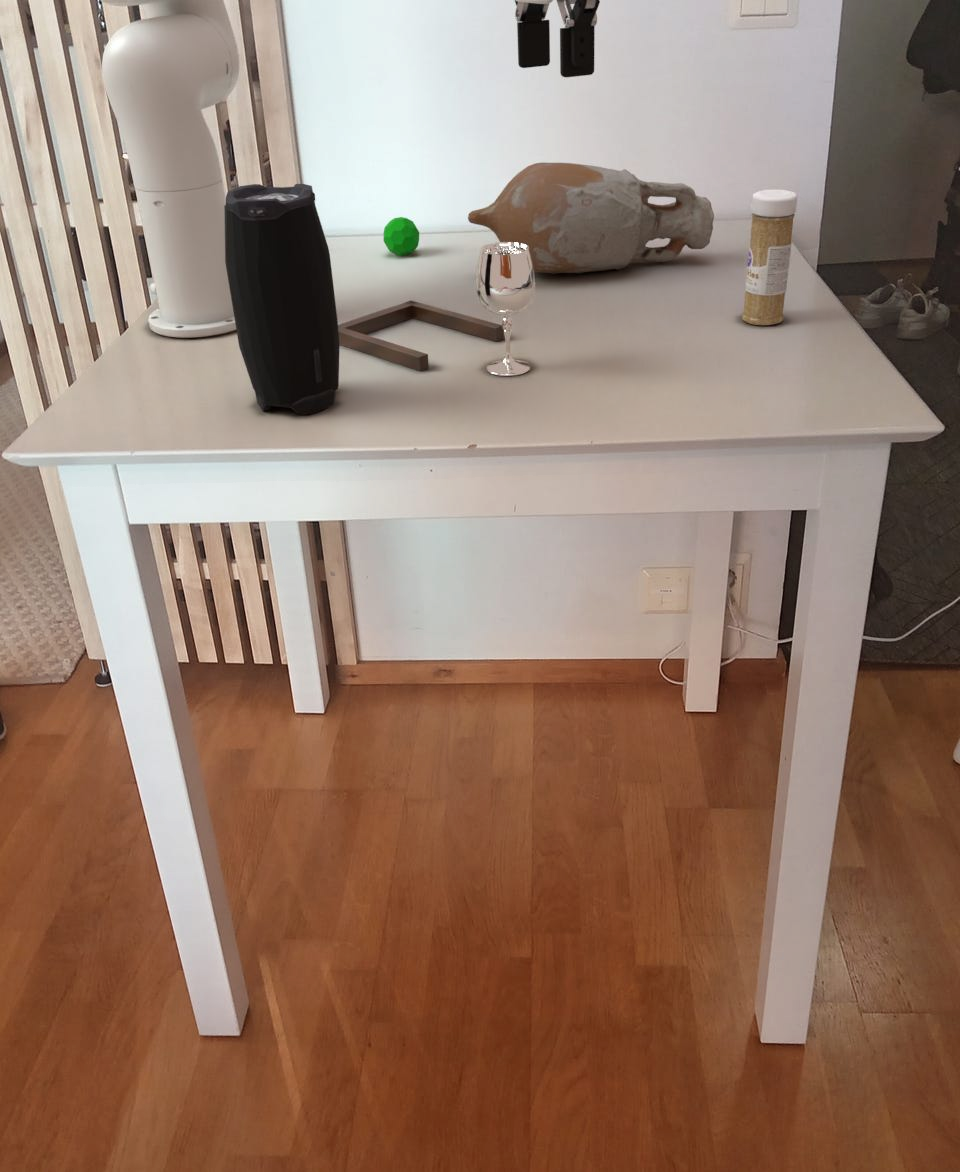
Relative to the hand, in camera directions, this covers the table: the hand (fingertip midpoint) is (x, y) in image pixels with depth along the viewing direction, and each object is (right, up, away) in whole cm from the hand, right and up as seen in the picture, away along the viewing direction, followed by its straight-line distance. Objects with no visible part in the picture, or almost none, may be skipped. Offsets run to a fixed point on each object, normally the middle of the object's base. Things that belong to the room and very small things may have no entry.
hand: (555, 70), depth 102 cm
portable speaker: (-25, -31, +2) cm, 40 cm away
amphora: (+7, -9, +35) cm, 37 cm away
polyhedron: (-18, -3, +46) cm, 49 cm away
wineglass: (-4, -27, +7) cm, 28 cm away
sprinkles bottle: (+24, -20, +16) cm, 35 cm away
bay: (-14, -22, +15) cm, 30 cm away
